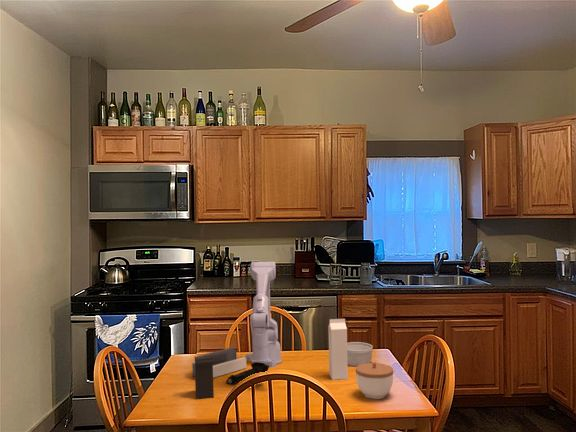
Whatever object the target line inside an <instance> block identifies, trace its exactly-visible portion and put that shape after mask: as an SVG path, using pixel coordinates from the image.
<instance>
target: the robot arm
mask: <svg viewBox="0 0 576 432" xmlns="http://www.w3.org/2000/svg"><path fill="white" fill-rule="evenodd" d="M249 267H250V269H249V270H250V277H251V278H252V280H254V281H255V282H256V283H255V284H256V285H255V286H256V295H255V296H253V301H252V311H251V312H252V313H251V314H250V317H249V319H250V321H249V322H250V329H251V334H252V336H251V338H252V340H251V341H252V343H251V345H252V353H246V354H245V358H246V361H250V362H251V364H250V366H251V369H252V368H253V370H254V372H255V373H259V372H265V371H267V372H268V370H269V369H270V368H271V369H273V368H275V367H277V365H278V364H280V363H282V362H283V360H282V359H281V358H282V357H281V356H282V355H281V354H282V353H281V352H282V351H281V344H280V342H279V341H278V339H279V332H278V328H279V327H278V323H277V321H276V320H274V319H273V318H271V315H272V314H271V288H270V287H271V285H270V284H271V282H272V281H273V280H275V279H276V275H277V274H276V273H277V271H276V269H277V268H276V267H277V266H276V262H275V261H274V260H273V261H252V262H251V263H250V266H249ZM261 384H263V383H261ZM261 384H260V385H261Z"/></svg>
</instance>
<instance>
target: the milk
mask: <svg viewBox="0 0 576 432" xmlns="http://www.w3.org/2000/svg"><path fill="white" fill-rule="evenodd" d="M327 326H328V329H327V330H328V367H329V368H328V369H329V371H328V372H329V373H328V374H329V376H330V379H331V380H332V381H335V380H338V379H340V380H348V379H349V371H348V370H349V369H348V367H349V365H348V362H347V343H348V327H347V324H346V318H335V319H334V318H330V319H329V324H328V325H327Z"/></svg>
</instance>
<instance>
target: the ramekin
mask: <svg viewBox="0 0 576 432" xmlns="http://www.w3.org/2000/svg"><path fill="white" fill-rule="evenodd" d="M372 355H373V345H372V344H370V343H367V342H361V341H350V342H347V362H348V367H349V366H350V367H357V366H358V365H361V364H365V363H372V358H373V357H372Z"/></svg>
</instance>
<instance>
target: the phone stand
mask: <svg viewBox="0 0 576 432" xmlns="http://www.w3.org/2000/svg"><path fill="white" fill-rule="evenodd" d="M194 362H195V379H194V380H195V384H194V386H195V400H202V399H203V400H204V399H213V398H215V397H214V394H215V392H214V378H213V360H212V359H201V360H195V359H194Z"/></svg>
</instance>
